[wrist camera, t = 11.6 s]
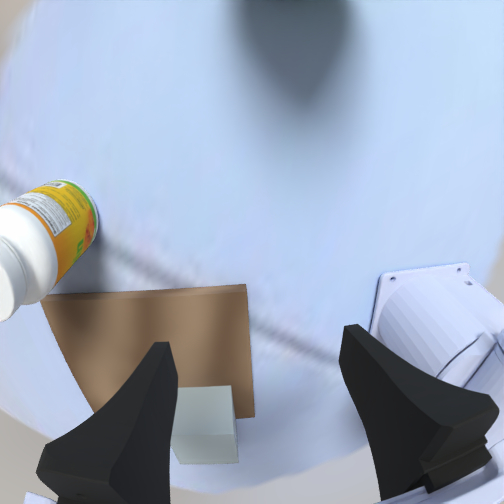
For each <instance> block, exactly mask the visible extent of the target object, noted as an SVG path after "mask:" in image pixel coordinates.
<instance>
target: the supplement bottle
mask: <svg viewBox="0 0 504 504" xmlns="http://www.w3.org/2000/svg"><path fill="white" fill-rule="evenodd" d="M97 230H98V213H97V209H96V206H95V203H94V201H93V199H92V198H91V196H90V195H89V193H88V192H87V191H86V190H85V189H84V188H83V187H82V186H80V185H79V184H77V183H75V182H73V181H70V180H64V179H59V180H54V181H51V182H48V183H46V184H44V185H42V186H40V187H38V188H35V189H33V190H31V191H29V192H27V193H25V194H23V195H21V196H20V197H18V198H16V199H14V200H12V201H10V202H8V203H6V204H4V205H2V206H0V322H2V321H6V320H7V319H9V318H10V317H11V316H12V315H13V314H14V313H15V311H16V310H17V309H18V308H19V307H20V306H21V305H29V304H34V303H36V302H38V301H40V300H42V299H43V298H44V297H45V296H46V295H47V294H48V293H49V292H50V291H51V290H52V289H53V288H54V286H55V285H56V284H57V283H58V282H59V280H60V279H61V278H62V277H63V276H64V274H65V273H66V272H67V271H68V270H69V269H70V268H71V266H72V265H73V264H74V263H75V262H76V261H77V260H78V258H79V257H80V256H81V255H82V254H83V253H84V252H85V251H86V250H87V249H88V247H89V246H90V245H91V244H92V242H93V240H94V239H95V236H96V234H97Z"/></svg>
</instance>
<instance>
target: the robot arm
mask: <svg viewBox="0 0 504 504" xmlns="http://www.w3.org/2000/svg"><path fill="white" fill-rule="evenodd" d="M457 269H458V270H457ZM469 270H470V265H469V264H468V263H466V262H465V263H458V264H450V265H443V266H435V267H427V268H419V269H411V270H403V271H394V272H386V273H383V274H382V275H381V277H380V280H379V286H378V292H377V298H376V303H375V309H374V314H373V319H372V324H371V329H370V333H368V332H367V331H366V330H365V329H363V328H362V327H361V326H360V325H358V324H354V325H348V326H344V331H343V338H342V344H341V350H340V356H339V365H340V368H341V372H342V375H343V378H344V382H345V384H346V386H347V388H348V391H349V393H350V395H351V397H352V400H353V402H354V404H355V406H356V409H357V411H358V413H359V415H360V418H361V420H362V422H363V425H364V428H365V431H366V434H367V438H368V441H369V445H370V448H371V452H372V456H373V460H374V464H375V469H376V474H377V478H378V484H379V490H380V497H381V502H378V503H375V504H499V503H501V502H502V501H504V305H503V304H502V303H501V302H500V301H499V300H498V299H497V298H495V297H494V296H493V295H492V294H491V293H490V292H489V291H487V290H486V289H485V288H484V287H483V286H482V285H480V284H479V283H478V282H477V281H475V280H474V279H473V278H472V277H471V276H469V275H468V274H469ZM392 277H393V279H392V280H390V279H391V278H392ZM177 398H178V373H177V370H176V366H175V362H174V359H173V355H172V351H171V347H170V343H169V341H167V342H154V343H153V345H152V346H151V347H150V349H149V350H148V352H147V353H146V355H145V356H144V358H143V359H142V360H141V362H140V363H139V365H138V366H137V367H136V369H135V370H134V371H133V373H132V374H131V375H130V377H129V378H128V379H127V380H126V382H125V383H124V384H123V385H122V386H121V387H120V389H119V390H118V391H117V392H116V393H115V394H114V395H113V397H112V398H111V399H110V400H109V401H108V402H107V403H106V404H105V405H104V406H102V407H101V408H100V409H99V410H98V411H97V412H96V413H94V414H93V415H92V416H91V417H89V418H88V419H87V420H86V421H84V422H83V423H82V424H80V425H79V426H77V427H76V428H74V429H73V430H71V431H70V432H68V433H66V434H65V435H63V436H61V437H59V438H57V439H56V440H54V441H52V442H50V443H48V444H46V445H45V447H44V449H43V452H42V455H41V458H40V461H39V464H38V467H37V470H36V474H37V476H38V477H39V479H40V480H41V481H42V482H43V483H44V484H45V485H46V486H47V487H49V488H50V489H51V490H52V491H53V492H55V493H56V494H57V495H58V496H59V497H58V501H57V502H56V501H54V500H52V499H50V498H47V497H43V496H41V495H38V494H35V493H32V492H27V493H26V496H25V499H24V503H23V504H170V474H169V465H170V443H171V435H172V429H173V423H174V416H175V410H176V404H177Z"/></svg>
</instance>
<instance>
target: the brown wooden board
mask: <svg viewBox="0 0 504 504" xmlns="http://www.w3.org/2000/svg"><path fill="white" fill-rule="evenodd" d="M40 302H41V305H42V307H43V310H44V313H45V315H46V318H47V320H48V322H49V325H50V327H51V330H52V332H53V334H54V336H55V339H56V341H57V343H58V345H59V347H60V350H61V352H62V354H63V356H64V358H65V360H66V362H67V364H68V366H69V368H70V370H71V372H72V374H73V376H74V378H75V380H76V382H77V383H78V385H79V387H80V389H81V391H82V393H83V394H84V396H85V398H86V400H87V401H88V403H89V405H90V407H91V408H92V410H93V412H94V413H96V412H97V411H98V410H99V409H100V408H101V407H102V406H104V405H105V404H106V403H107V402H108V401H109V400H110V399H111V398H112V397H113V395H114V394H115V393H116V392H117V391H118V390H119V389H120V387H121V386H122V385H123V384H124V383H125V382H126V380H127V379H128V378H129V377H130V375H131V374H132V373H133V371H134V370H135V369H136V367H137V366H138V365H139V363H140V362H141V360H142V359H143V358H144V356H145V355H146V353H147V352H148V350H149V349H150V347H151V346H152V345H153V343H154V342H167V341H169V343H170V347H171V351H172V355H173V359H174V362H175V366H176V370H177V373H178V388H183V387H212V386H230V385H231V389H232V397H233V404H234V411H235V418H236V419H239V418H251V417H255V412H254V397H253V381H252V366H251V350H250V334H249V318H248V301H247V288H246V284H239V285H226V286H212V287H197V288H182V289H165V290H147V291H128V292H106V293H81V294H49V295H46V296H45V297H44V298H43V299H42V300H41V301H40Z"/></svg>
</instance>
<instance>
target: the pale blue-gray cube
mask: <svg viewBox="0 0 504 504" xmlns="http://www.w3.org/2000/svg"><path fill="white" fill-rule="evenodd" d="M170 445H171V447H172V449H173V451H174V453H175V455H176V457H177V459H178V461H179V463H180V464H229V463H239V460H238V446H237V432H236V418H235V411H234V404H233V397H232V389H231V385H230V386H212V387H183V388H178V398H177V404H176V410H175V416H174V423H173V429H172V435H171V443H170Z"/></svg>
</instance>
